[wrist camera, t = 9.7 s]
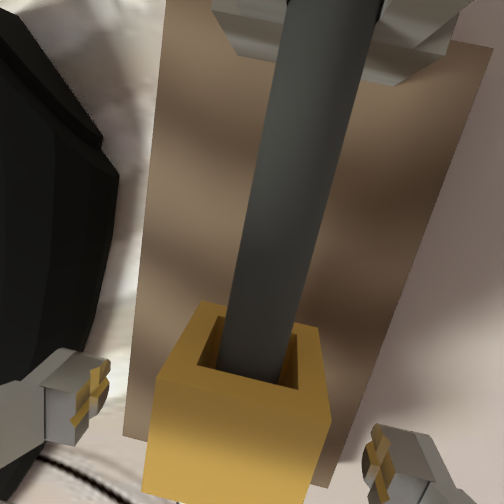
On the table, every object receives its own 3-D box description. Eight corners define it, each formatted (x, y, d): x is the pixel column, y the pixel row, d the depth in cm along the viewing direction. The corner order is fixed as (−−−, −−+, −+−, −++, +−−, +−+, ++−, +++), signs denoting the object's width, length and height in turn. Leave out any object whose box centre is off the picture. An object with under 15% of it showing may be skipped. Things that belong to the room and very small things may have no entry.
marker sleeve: (201, 300, 12) (155, 377, 8) (318, 327, 12) (331, 421, 8) (186, 387, 14) (140, 492, 10) (292, 413, 14) (292, 532, 9)
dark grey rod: (271, -41, 9) (259, -160, 5) (408, -15, 9) (485, -121, 5) (180, 468, 15) (146, 566, 11) (261, 489, 14) (252, 595, 11)
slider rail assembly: (180, 2, 14) (-33, -277, 5) (472, 58, 13) (862, -133, 4) (134, 415, 21) (10, 626, 12) (325, 464, 20) (353, 725, 11)
